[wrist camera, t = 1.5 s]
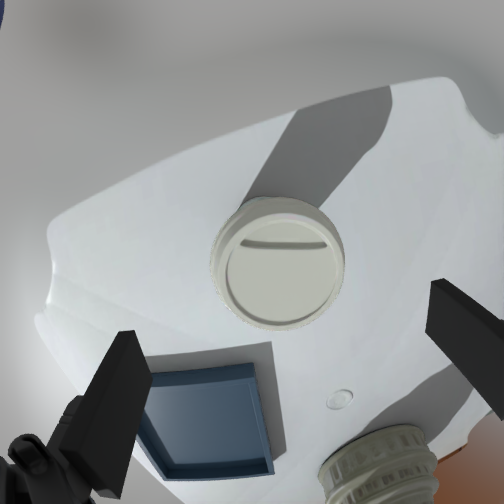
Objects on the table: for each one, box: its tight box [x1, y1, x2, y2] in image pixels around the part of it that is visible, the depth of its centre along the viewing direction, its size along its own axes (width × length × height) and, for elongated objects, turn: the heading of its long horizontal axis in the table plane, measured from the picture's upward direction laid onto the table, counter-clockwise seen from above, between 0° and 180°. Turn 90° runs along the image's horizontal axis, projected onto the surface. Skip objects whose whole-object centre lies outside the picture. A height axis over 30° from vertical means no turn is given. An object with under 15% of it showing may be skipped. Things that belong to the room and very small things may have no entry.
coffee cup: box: [210, 196, 345, 331], centre depth 24 cm, size 9×8×12 cm
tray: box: [136, 363, 275, 481], centre depth 36 cm, size 22×18×3 cm
